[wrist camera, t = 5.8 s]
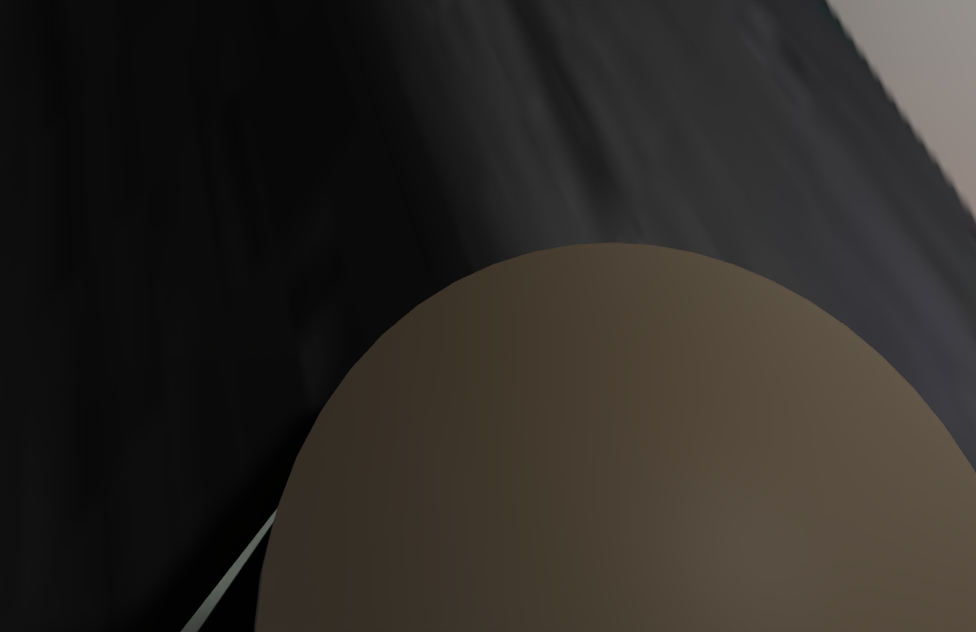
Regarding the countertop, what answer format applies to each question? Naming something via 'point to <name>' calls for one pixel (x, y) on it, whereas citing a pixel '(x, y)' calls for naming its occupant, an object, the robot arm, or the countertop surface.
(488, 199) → the countertop surface
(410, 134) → the countertop surface
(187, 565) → the countertop surface
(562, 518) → the pin
